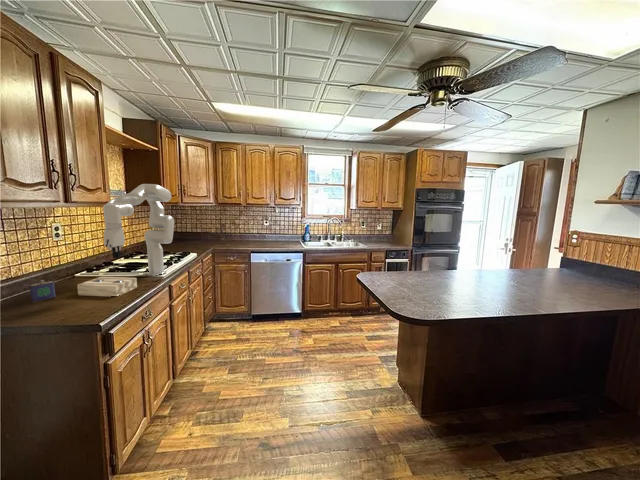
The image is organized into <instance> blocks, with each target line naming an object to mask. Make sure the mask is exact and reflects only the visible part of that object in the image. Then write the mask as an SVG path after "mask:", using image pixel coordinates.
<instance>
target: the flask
mask: <svg viewBox="0 0 640 480" xmlns="http://www.w3.org/2000/svg"><path fill="white" fill-rule="evenodd" d="M29 291H30V299H31V303H38V302H42V301H47V300H52V299H54V298H56V290H55V283H54V281H53V280H52V281H45V280H44V279H41V280H40V282H36V283H32V284H31V285H29Z"/></svg>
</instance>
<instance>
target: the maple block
mask: <svg viewBox="0 0 640 480" xmlns="http://www.w3.org/2000/svg"><path fill="white" fill-rule="evenodd" d="M95 280H102V281H100V282H94V281H95ZM118 280H122V282H120V283H114V282H115V281H118ZM136 288H138V282H137V277H125V276H124V277H123V276H120V277H119V276H98V277H95V278H93V279H90V280H87V281H84V282H82V283H79V284H77V294H78V296H90V297H92V296H93V297H111V296H118V297H119V295H120V296H122V295H124V294H126V293H128V292H130V291H132V290H134V289H136Z"/></svg>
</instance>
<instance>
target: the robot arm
mask: <svg viewBox="0 0 640 480" xmlns="http://www.w3.org/2000/svg"><path fill="white" fill-rule="evenodd" d="M145 200H146V201H147V203H148V205H149V208H150V210H149V212H150V213H149V219H148V225H149V227H150V228H152V229H149V230H147V231H146V232H144V240H145V243H146V249H147V250H146V251H147V254H146V255H147V264H148V271H149V273H147V272H145V274H147V275H146V276H149V277H150V276H151V277H154V276H156V275H157V276H160V275H159V274H163V273H165V274H167V273H166V272H167V270H166V271H165V272H164V270H165V269H166V268H167V267H168V266H167V265H164V248H163V247H162V245H161V244H171V243H172V242H173V239H174V238H173V237H174V231H175V230H174V229H175V219H174V217H173V216H171V215H168V214H166V215H165V208H164V206H163V205H162V203H168V202H170V201H171V200H172V193H171V191H170V190H169V189H167V188H165V187H164V186H161V185H159V184H157V183H155V184H154V183H142V184H140V185H138V186H137V187H135V188H134V189H132V190H131V191H130V192H128V193H126V194H122V195H118V196H117V197H113V198H112V199H111V200H109V201H108V202H107V203H106V204H104V205H103V207H102V209H103V217H104V218H103V219H104V227H105V228H104V229H103V230H104V232H103V244H104V245H103V246H104V247H106V249H107V250H110V251H111V252H112V259H121V251H122V248H123V247H124V245H125V243H126V241H125V240H126V237H125V232H124V229H123V223H122V217H129V216H132V215H133V214H134V213H135V207H134V206H138V205H141V204H142V203H143V202H144V201H145ZM161 202H162V203H161ZM162 272H163V273H162ZM163 275H164V274H163Z"/></svg>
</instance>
